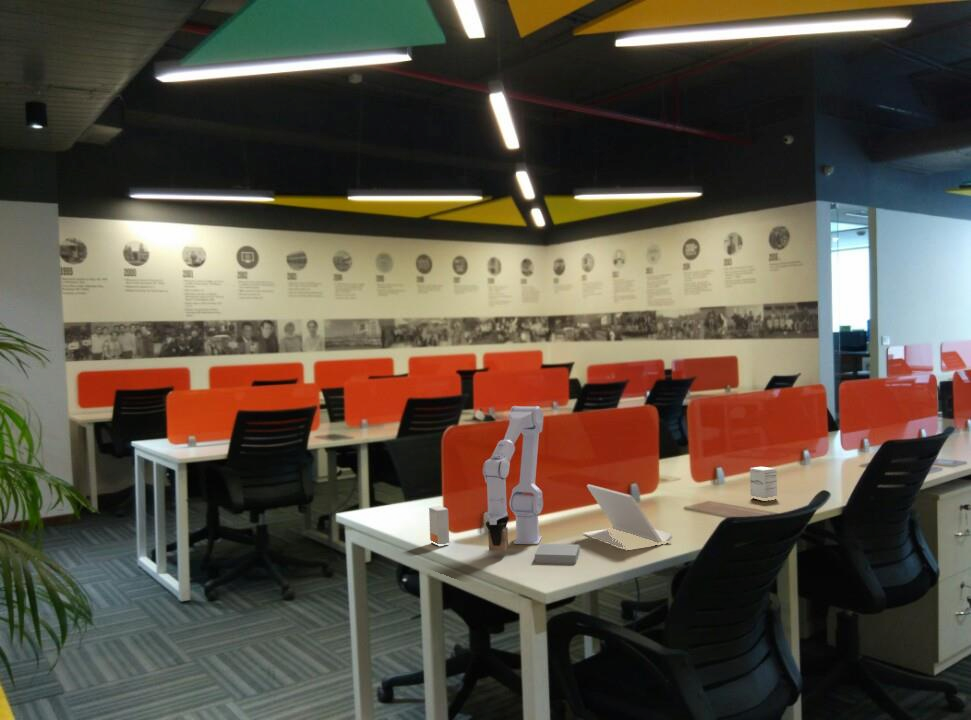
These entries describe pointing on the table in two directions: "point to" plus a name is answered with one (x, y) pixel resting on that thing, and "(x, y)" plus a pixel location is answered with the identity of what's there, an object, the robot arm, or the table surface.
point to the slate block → (557, 553)
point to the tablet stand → (623, 517)
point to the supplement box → (763, 482)
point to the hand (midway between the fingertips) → (498, 542)
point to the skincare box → (439, 525)
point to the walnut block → (504, 541)
